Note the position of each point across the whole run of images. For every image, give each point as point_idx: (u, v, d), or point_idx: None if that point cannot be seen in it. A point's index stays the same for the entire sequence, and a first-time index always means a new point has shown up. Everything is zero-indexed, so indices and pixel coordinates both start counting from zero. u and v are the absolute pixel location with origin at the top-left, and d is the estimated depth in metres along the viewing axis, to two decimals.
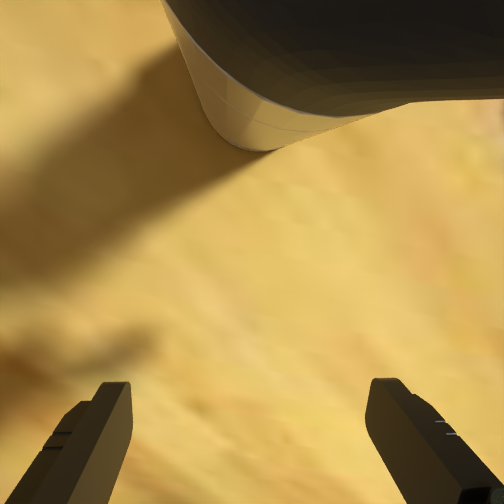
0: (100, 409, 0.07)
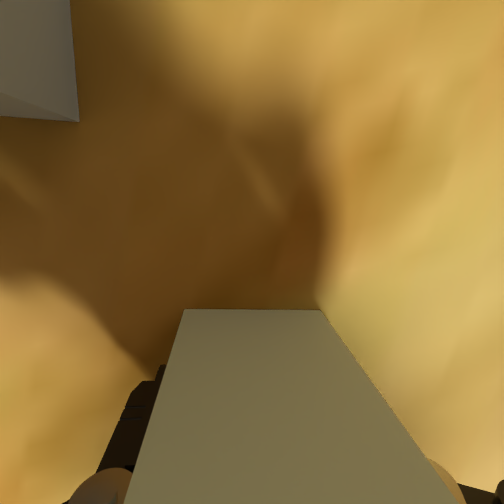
0: None
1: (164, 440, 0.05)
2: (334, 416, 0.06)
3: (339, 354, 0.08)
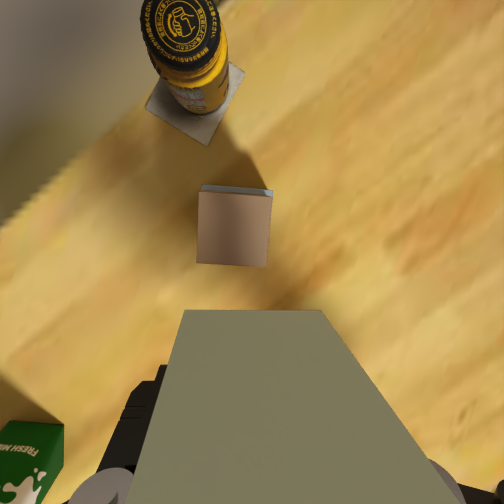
0: None
1: (165, 443, 0.05)
2: (335, 418, 0.06)
3: (340, 355, 0.08)
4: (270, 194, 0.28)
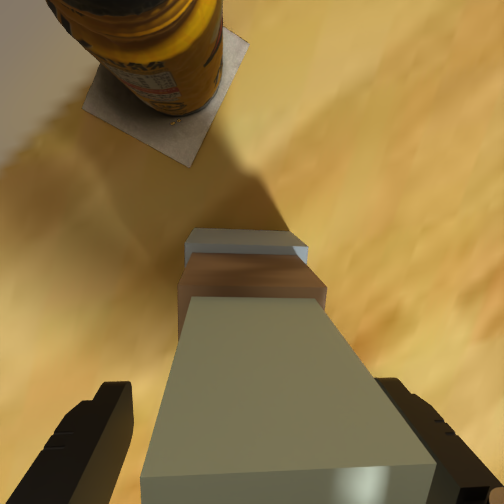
0: (101, 408, 0.07)
1: (181, 395, 0.06)
2: (322, 380, 0.07)
3: (330, 334, 0.09)
4: (303, 253, 0.16)
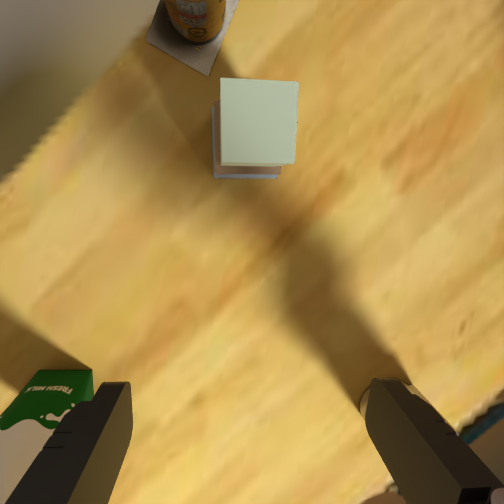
0: (100, 409, 0.07)
1: None
2: None
3: None
4: None
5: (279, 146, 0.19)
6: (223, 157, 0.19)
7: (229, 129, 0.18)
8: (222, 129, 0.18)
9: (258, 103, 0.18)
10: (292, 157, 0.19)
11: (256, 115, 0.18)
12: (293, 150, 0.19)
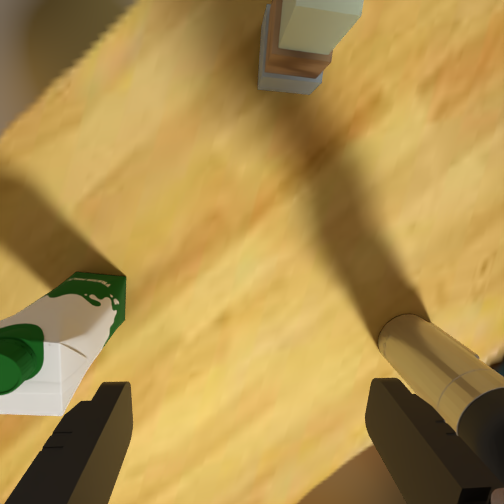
0: (100, 409, 0.07)
1: None
2: None
3: None
4: None
5: None
6: (297, 1, 0.20)
7: None
8: None
9: None
10: (359, 9, 0.21)
11: None
12: (361, 2, 0.21)
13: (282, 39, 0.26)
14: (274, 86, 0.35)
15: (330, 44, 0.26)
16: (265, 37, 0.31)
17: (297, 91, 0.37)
